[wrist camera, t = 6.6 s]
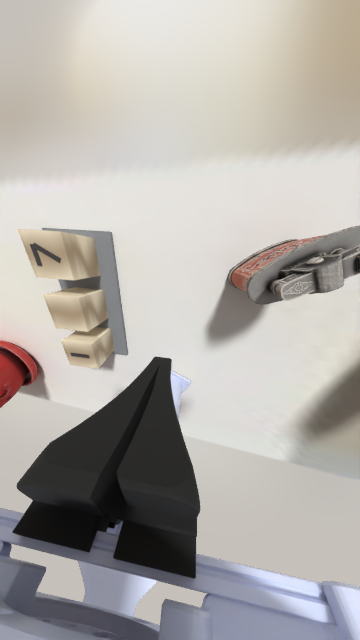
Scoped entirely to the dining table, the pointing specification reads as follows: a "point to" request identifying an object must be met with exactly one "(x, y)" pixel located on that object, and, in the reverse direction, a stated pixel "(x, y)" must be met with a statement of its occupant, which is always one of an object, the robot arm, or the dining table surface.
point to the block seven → (60, 254)
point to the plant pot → (14, 370)
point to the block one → (89, 347)
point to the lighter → (299, 267)
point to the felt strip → (103, 284)
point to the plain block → (77, 308)
